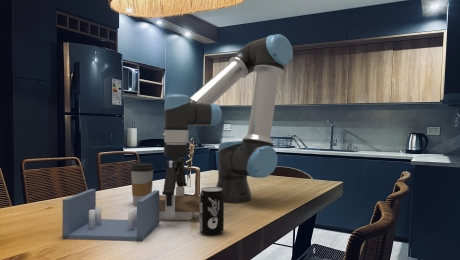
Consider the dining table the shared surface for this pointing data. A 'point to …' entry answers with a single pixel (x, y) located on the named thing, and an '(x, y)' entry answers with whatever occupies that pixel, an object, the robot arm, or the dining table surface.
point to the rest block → (176, 216)
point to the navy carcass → (93, 227)
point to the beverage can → (211, 211)
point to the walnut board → (182, 203)
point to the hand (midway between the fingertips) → (175, 211)
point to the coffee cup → (141, 180)
